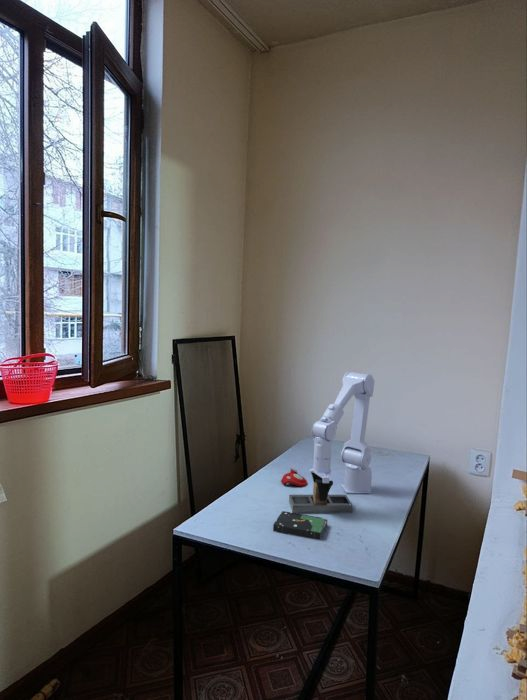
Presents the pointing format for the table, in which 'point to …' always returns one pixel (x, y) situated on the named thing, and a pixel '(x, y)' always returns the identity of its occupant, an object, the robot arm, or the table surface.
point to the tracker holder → (294, 478)
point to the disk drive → (300, 525)
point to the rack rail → (320, 504)
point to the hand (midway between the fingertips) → (320, 495)
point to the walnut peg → (316, 494)
